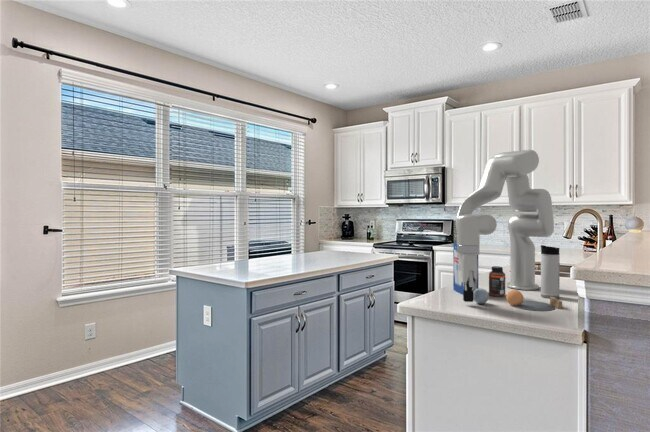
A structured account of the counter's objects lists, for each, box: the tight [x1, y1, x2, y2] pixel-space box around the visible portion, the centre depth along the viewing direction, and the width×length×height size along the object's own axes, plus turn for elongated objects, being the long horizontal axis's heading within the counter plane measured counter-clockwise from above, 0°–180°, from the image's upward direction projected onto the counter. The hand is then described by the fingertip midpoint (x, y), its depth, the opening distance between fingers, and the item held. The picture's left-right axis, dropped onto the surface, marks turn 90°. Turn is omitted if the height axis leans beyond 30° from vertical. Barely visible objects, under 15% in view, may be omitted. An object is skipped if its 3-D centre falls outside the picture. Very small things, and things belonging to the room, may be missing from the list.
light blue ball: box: [473, 287, 490, 305], centre depth 145 cm, size 6×6×6 cm
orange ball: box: [505, 289, 524, 306], centre depth 142 cm, size 6×6×6 cm
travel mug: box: [540, 244, 561, 299], centre depth 154 cm, size 6×7×20 cm
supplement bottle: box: [488, 265, 506, 298], centre depth 158 cm, size 6×6×11 cm
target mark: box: [511, 300, 556, 312], centre depth 141 cm, size 14×14×1 cm
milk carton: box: [452, 242, 479, 295], centre depth 165 cm, size 10×6×20 cm, turn 5°
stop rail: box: [549, 297, 563, 310], centre depth 140 cm, size 7×1×2 cm, turn 172°
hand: (468, 301), depth 143 cm, fingers closed
